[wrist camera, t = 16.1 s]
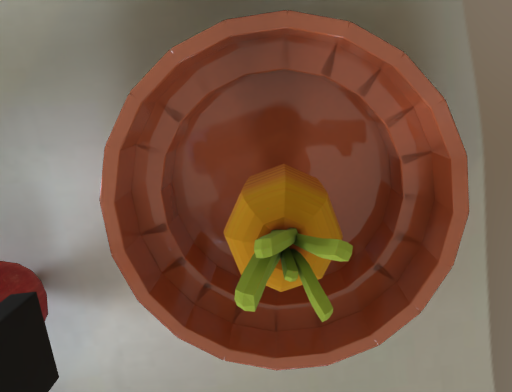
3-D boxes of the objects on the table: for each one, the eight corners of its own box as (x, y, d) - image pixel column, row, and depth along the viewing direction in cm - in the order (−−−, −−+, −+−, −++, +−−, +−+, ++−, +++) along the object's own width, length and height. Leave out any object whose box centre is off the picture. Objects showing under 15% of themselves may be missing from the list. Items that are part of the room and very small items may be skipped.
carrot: (322, 146, 28) (372, 207, 13) (318, 223, 29) (359, 358, 14) (242, 144, 28) (204, 202, 13) (241, 221, 29) (204, 351, 15)
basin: (166, 326, 32) (139, 383, 26) (112, 54, 28) (63, 44, 22) (434, 298, 31) (474, 352, 24) (417, 8, 27) (461, -18, 20)
